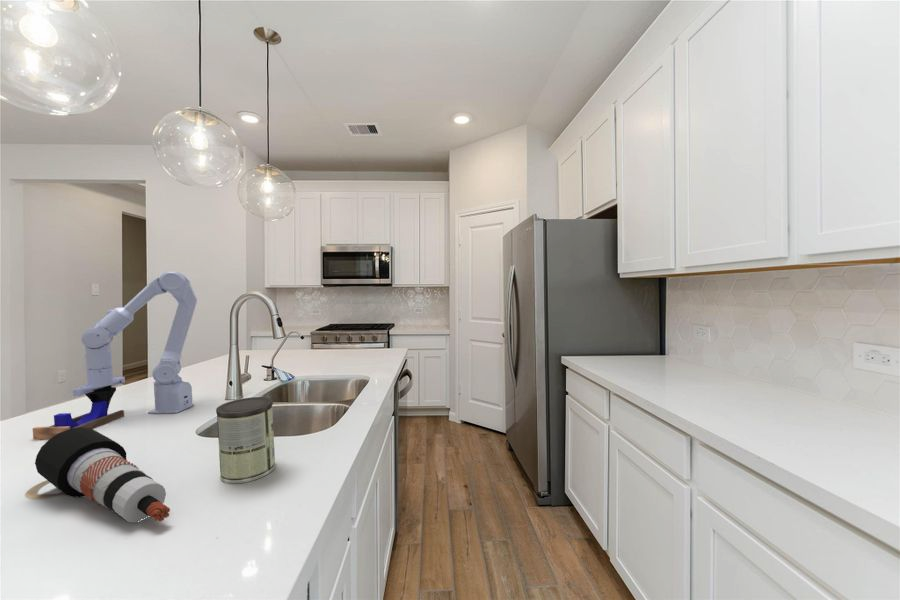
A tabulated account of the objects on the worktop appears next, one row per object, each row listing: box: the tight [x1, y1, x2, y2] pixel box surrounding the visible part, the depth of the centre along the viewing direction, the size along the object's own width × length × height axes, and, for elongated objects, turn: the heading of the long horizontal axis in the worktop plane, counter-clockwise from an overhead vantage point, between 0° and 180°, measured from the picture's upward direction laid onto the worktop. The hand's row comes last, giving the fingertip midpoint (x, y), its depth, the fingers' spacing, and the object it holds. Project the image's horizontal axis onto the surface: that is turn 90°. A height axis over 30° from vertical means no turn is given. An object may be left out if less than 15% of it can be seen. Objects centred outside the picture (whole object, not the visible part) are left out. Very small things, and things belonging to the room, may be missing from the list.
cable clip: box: [53, 401, 109, 429], centre depth 107 cm, size 12×4×6 cm, turn 179°
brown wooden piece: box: [32, 409, 125, 441], centre depth 109 cm, size 9×17×3 cm, turn 178°
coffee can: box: [215, 396, 277, 485], centre depth 79 cm, size 10×10×14 cm
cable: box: [34, 427, 171, 524], centre depth 69 cm, size 10×34×10 cm, turn 62°
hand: (102, 413), depth 115 cm, fingers closed
